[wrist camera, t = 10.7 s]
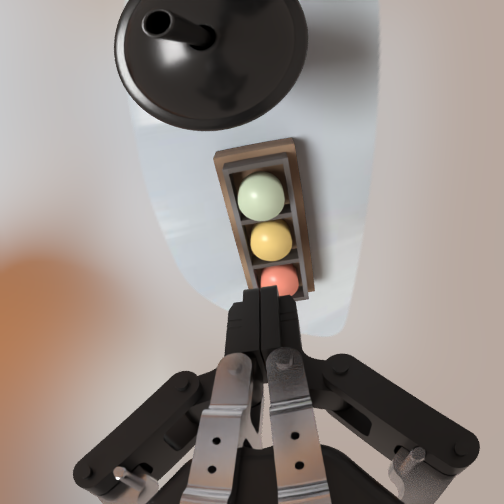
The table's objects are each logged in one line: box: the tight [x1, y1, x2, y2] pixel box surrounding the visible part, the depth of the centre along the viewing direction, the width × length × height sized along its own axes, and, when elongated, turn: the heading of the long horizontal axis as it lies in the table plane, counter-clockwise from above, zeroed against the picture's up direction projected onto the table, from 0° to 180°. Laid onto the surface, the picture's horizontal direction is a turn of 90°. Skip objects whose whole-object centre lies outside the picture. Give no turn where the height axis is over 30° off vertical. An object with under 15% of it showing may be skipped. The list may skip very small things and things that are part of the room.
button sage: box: [238, 171, 285, 221], centre depth 24 cm, size 3×3×2 cm
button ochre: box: [251, 219, 292, 261], centre depth 27 cm, size 3×3×2 cm
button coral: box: [261, 264, 299, 296], centre depth 30 cm, size 3×3×2 cm
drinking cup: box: [114, 0, 308, 131], centre depth 13 cm, size 8×8×20 cm
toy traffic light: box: [213, 138, 315, 301], centre depth 28 cm, size 15×6×4 cm, turn 12°
